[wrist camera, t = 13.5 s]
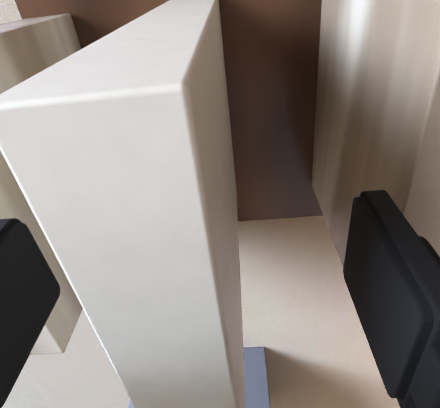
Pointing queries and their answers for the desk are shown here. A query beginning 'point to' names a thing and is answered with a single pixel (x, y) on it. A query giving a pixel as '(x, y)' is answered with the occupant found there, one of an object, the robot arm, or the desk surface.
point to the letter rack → (278, 109)
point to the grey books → (253, 379)
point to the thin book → (142, 199)
